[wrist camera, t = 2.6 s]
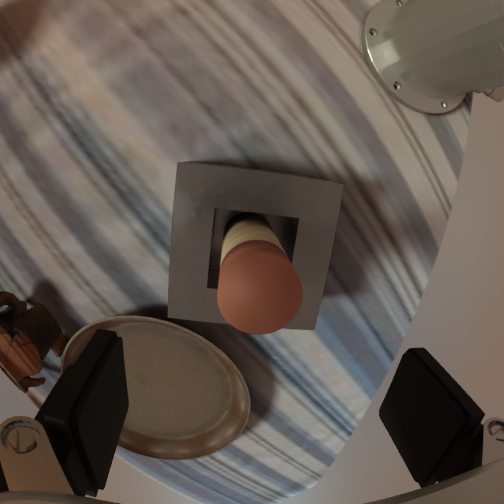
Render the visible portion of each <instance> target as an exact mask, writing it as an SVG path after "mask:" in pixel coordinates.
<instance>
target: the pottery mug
mask: <svg viewBox="0 0 504 504" xmlns="http://www.w3.org/2000/svg"><path fill="white" fill-rule="evenodd" d="M3 305H8V307H7V308H6V309H5V310H4V311H2V312H0V368H1V370H2V371H3V372H4V373H5V374H6V375H7V377H9V379H10V380H11V381H12V382H13V383H14V384H15V385H16V386H17V387H18V388H19V389H20V390H21V391H23V392H24V393H26V392H27V391H28V388H29V387H37V386H39V385H41V384H44V383H45V378H43V377H42V378H39V379H37V378H31V377H30V376H31V375H35V374H38V373H40V371H41V370H42V367H43V364H42V360H44V358H45V357H46V355H47V353H48V352H49V350H50V348H51V349H52V350H53V351H54V353H55V355H56V356H57V357H60V356H61V355H62V354H63V351H64V350H65V348H66V345H67V344H68V342H67V339H66V337H65V335H64V334H63V332H62V331H61V329H60V327H59V326H58V325H57V322H56V321H55V320H54V319H53V317H52V316H51V315H50V313H49V312H48V311H47V310H46V309H45V308H44V307H43V306H41V305H40V304H38V305H36V306H35V307H33V308H30V309H28V310H27V304H26V303H25V302H24V301H19V299H18V298H17V297H16V296H15V295H14V294H12V293H9V292H5V291H1V292H0V307H1V306H3ZM11 328H17V332H16V334H15V336H14V337H13V336H12V335H11V334H10V333H9V331H10V330H11Z"/></svg>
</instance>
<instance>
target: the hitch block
mask: <svg viewBox="0 0 504 504" xmlns="http://www.w3.org/2000/svg"><path fill="white" fill-rule="evenodd" d="M343 187H344V184H341V183H337V182H333V181H329V180H325V179H321V178H316V177H310V176H304V175H297V174H291V173H284V172H277V171H270V170H262V169H255V168H247V167H239V166H230V165H221V164H211V163H201V162H190V161H189V162H178V163H177V172H176V182H175V193H174V204H173V217H172V230H171V246H170V264H169V288H168V318H176V319H184V320H193V321H202V322H211V323H221V324H229V323H228V322H227V321H226V320H225V318H224V317H223V315H222V314H221V312H220V309H219V306H218V301H217V293H218V283H219V273H220V263H221V254H222V245H223V236H224V230H225V227H226V225H227V223H228V222H229V220H230V219H231V218H232V217H234V216H235V215H237V214H239V213H243V212H254V213H257V214H259V215H261V216H263V217H264V218H265V219H266V220H267V221H268V223H269V224H270V226H271V228H272V229H273V231H274V233H275V235H276V237H277V239H278V240H279V242H280V244H281V246H282V248H283V249H284V251H285V253H286V255H287V257H288V259H289V260H290V262H291V264H292V266H293V268H294V270H295V271H296V273H297V275H298V277H299V279H300V281H301V284H302V289H303V299H302V304H301V307H300V309H299V311H298V313H297V315H296V316H295V317H294V319H293V320H292V321H291V322H290V323H289V324H287V325H286V326H285V327H283V328H285V329H302V330H314V329H315V325H316V321H317V317H318V313H319V308H320V304H321V300H322V295H323V291H324V286H325V282H326V277H327V273H328V268H329V263H330V258H331V253H332V248H333V243H334V238H335V233H336V227H337V222H338V216H339V211H340V205H341V199H342V193H343Z"/></svg>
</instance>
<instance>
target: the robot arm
mask: <svg viewBox="0 0 504 504" xmlns="http://www.w3.org/2000/svg"><path fill="white" fill-rule="evenodd" d="M361 36H362V46H363V50H364V53H365V57H366V60H367V62H368V64H369V66H370V68H371V70H372V72H373V74H374V75H375V77H376V78H377V80H378V81H379V82H380V84H381V85H382V86H383V87H384V88H385V90H386V91H387V92H388V93H389V94H390V95H392V96H393V97H394V98H395V99H396V100H397V101H399V102H400V103H402V104H403V105H405V106H406V107H408V108H411V109H413V110H415V111H418V112H422V113H425V114H439V113H445V112H448V111H451V110H453V109H454V108H456V107H457V106H458V105H459V104H460V103H461V102H462V101H463V99H464V98H465V95H466V93H467V92H472V91H474V92H476V93H481V92H482V93H484V94H485V95H487V96H488V97H490V98H492V99H493V100H495V101H497V102H500V101H502V100H503V98H504V89H503V87H504V0H382V1H381V2H379V3H377V4H376V5H375V6H374V7H373V8H372V9H371V10H370V11H369V12H368V14H367V15H366V17H365V19H364V22H363V25H362V34H361ZM394 87H395V88H394ZM128 408H129V397H128V390H127V381H126V372H125V362H124V350H123V339H122V337H119V336H117V333H116V331H111V330H105V329H97V331H96V332H95V334H94V335H93V336H92V338H91V339H90V341H89V342H88V344H87V345H86V347H85V348H84V350H83V351H82V353H81V355H80V356H79V358H78V359H77V361H76V362H75V364H70V365H68V366H67V368H66V369H65V370H64V372H63V374H62V375H61V377H60V378H59V380H58V381H57V383H56V384H55V386H54V388H53V389H52V391H51V392H50V394H49V395H48V397H47V399H46V400H45V402H44V404H43V405H42V407H41V408H40V410H39V412H38V414H37V415H36V417H35V418H34V419H32V418H30V417H26V416H14V417H12V418H8V419H7V420H5V421H4V422H2V423H1V424H0V504H119V503H113V502H108V501H103V500H97V499H93V498H88V497H85V495H90V496H93V497H96V496H97V492H98V489H101V490H103V489H104V488H105V485H106V481H107V478H108V474H109V471H110V467H111V464H112V460H113V457H114V454H115V450H116V447H117V444H118V441H119V437H120V434H121V431H122V428H123V425H124V421H125V418H126V415H127V412H128ZM484 415H485V413H484V412H483V411H482V410H481V409H480V408H479V406H478V405H477V404H476V403H475V402H474V401H473V400H472V399H471V397H470V396H469V395H468V394H467V393H466V392H465V391H464V390H463V389H462V388H461V386H460V385H459V384H458V383H457V382H456V381H455V380H454V379H453V378H452V377H451V376H450V374H449V373H447V371H446V370H445V369H444V368H443V367H442V366H441V365H440V364H439V363H438V362H437V361H436V359H435V358H434V357H432V355H431V354H430V353H429V352H428V351H427V350H426V349H425V348H410V349H408V350H407V351H406V353H404V354H403V356H402V358H401V361H400V363H399V366H398V368H397V370H396V373H395V375H394V378H393V380H392V382H391V385H390V387H389V389H388V392H387V394H386V396H385V398H384V400H383V403H382V405H381V407H380V410H379V416H380V419H381V420H382V422H383V424H384V426H385V428H386V429H387V431H388V433H389V435H390V437H391V438H392V440H393V442H394V444H395V446H396V447H397V449H398V451H399V453H400V455H401V457H402V458H403V460H404V462H405V464H406V466H407V468H408V469H409V471H410V473H411V475H412V477H413V479H414V480H415V481H416V482H418V483H419V485H420V487H421V489H418V490H415V491H411V492H408V493H405V494H401V495H397V496H394V497H390V498H386V499H382V500H378V501H373V502H368V503H364V504H504V420H503V419H500V418H495V417H494V418H489V419H487V420H486V422H485V423H484V424H483V425H482V424H481V423H480V422H481V421H482V419H483V417H484ZM437 481H438V483H436V482H437ZM435 483H436V484H435Z"/></svg>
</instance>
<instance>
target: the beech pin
mask: <svg viewBox="0 0 504 504" xmlns="http://www.w3.org/2000/svg"><path fill="white" fill-rule="evenodd" d="M302 299H303V289H302V284H301V281H300V279H299V277H298V275H297V273H296V271H295V270H294V268H293V266H292V264H291V262H290V260H289V259H288V257H287V255H286V253H285V251H284V249H283V248H282V246H281V244H280V242H279V240H278V239H277V237H276V235H275V233H274V231H273V229H272V228H271V226H270V224H269V223H268V221H267V220H266V219H265V218H264V217H263V216H261V215H259V214H257V213H254V212H243V213H239V214H237V215H235V216H234V217H232V218H231V219H230V220H229V222H228V223H227V225H226V227H225V230H224V236H223V245H222V254H221V263H220V273H219V283H218V293H217V301H218V306H219V309H220V312H221V314H222V315H223V317H224V318H225V320H226V321H227V322H228V323H229V324H230V325H232V326H233V327H234V328H236V329H238V330H240V331H242V332H245V333H249V334H268V333H272V332H275V331H277V330H279V329H281V328H283V327H285V326H286V325H287V324H289V323H290V322H291V321H292V320H293V319H294V317H295V316H296V315H297V313H298V311H299V309H300V307H301V304H302Z"/></svg>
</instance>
